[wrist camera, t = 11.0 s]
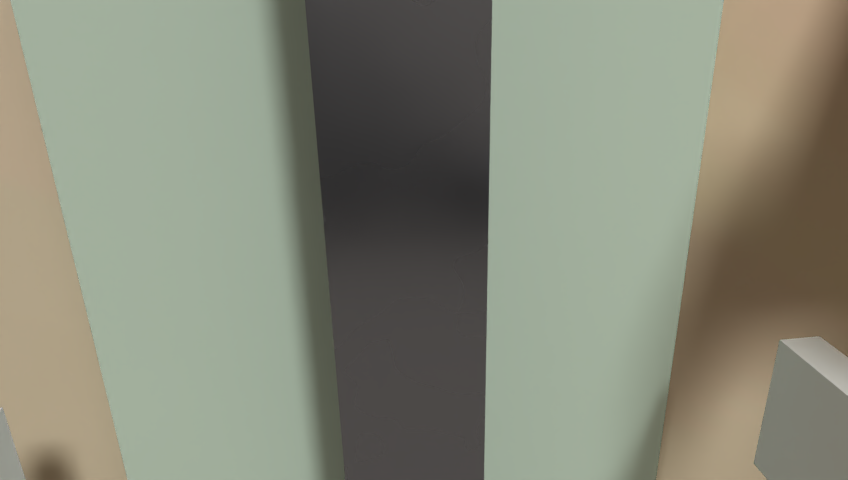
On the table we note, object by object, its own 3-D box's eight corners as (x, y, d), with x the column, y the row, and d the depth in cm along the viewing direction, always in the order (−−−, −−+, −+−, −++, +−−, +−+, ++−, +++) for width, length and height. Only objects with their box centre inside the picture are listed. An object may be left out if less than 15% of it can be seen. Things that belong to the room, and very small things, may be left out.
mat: (224, 839, 20) (221, 864, 19) (-198, -954, 7) (-241, -1031, 7) (603, 780, 21) (610, 802, 21) (816, -839, 8) (850, -897, 8)
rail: (376, 800, 19) (381, 912, 17) (256, -700, 8) (223, -979, 6) (460, 787, 19) (477, 895, 17) (460, -683, 8) (508, -943, 6)
